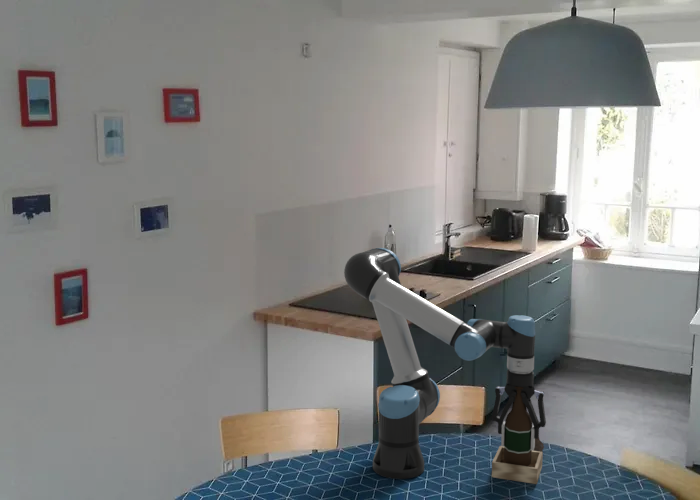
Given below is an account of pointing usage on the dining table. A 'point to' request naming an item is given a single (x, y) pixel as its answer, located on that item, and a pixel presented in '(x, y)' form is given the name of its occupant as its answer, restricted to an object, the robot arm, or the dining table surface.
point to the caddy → (517, 468)
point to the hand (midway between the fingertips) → (517, 446)
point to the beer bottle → (518, 433)
